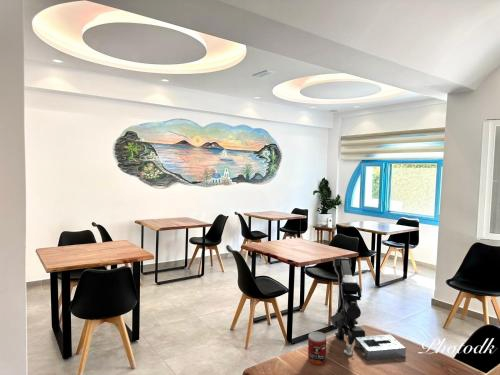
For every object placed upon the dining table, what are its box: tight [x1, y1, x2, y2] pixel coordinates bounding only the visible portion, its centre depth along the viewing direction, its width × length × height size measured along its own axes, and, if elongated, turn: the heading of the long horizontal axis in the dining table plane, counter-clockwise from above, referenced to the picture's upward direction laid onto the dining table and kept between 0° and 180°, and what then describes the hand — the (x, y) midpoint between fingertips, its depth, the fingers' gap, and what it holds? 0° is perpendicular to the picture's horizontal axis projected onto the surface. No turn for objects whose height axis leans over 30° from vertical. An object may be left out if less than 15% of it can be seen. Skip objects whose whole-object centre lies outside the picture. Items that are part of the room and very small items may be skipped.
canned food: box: [307, 331, 327, 366], centre depth 141 cm, size 8×8×11 cm
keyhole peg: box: [343, 334, 354, 357], centre depth 146 cm, size 4×4×8 cm
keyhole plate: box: [354, 334, 407, 361], centre depth 148 cm, size 12×18×4 cm, turn 98°
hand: (348, 342), depth 146 cm, fingers open, 3 cm apart
